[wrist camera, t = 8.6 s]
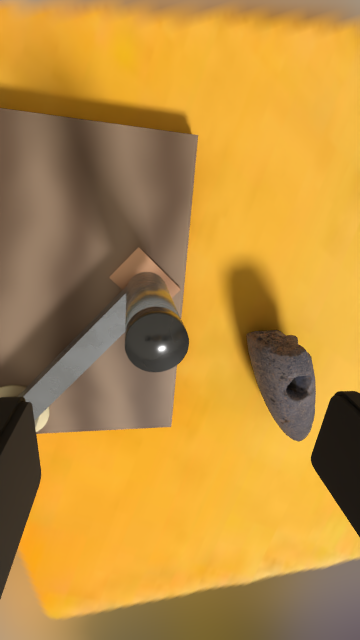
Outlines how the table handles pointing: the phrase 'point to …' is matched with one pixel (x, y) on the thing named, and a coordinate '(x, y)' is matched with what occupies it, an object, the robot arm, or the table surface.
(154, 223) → the board
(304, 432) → the perforated stone tool
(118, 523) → the table surface
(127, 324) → the press lever
